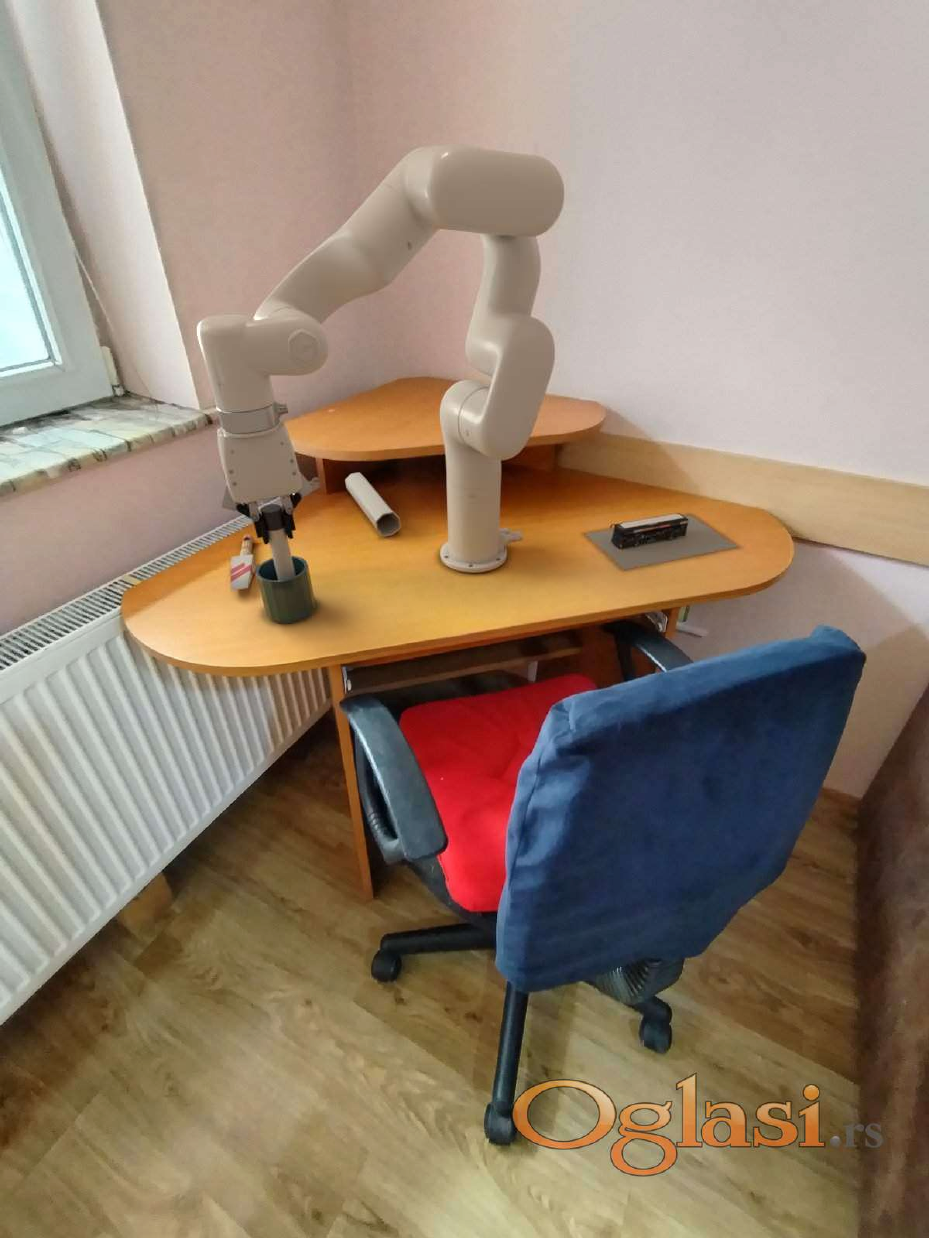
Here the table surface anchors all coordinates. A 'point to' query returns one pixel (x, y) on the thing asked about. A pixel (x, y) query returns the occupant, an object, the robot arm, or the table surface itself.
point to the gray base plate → (658, 540)
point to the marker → (278, 541)
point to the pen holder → (286, 592)
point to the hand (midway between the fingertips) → (277, 536)
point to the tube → (373, 505)
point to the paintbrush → (243, 565)
